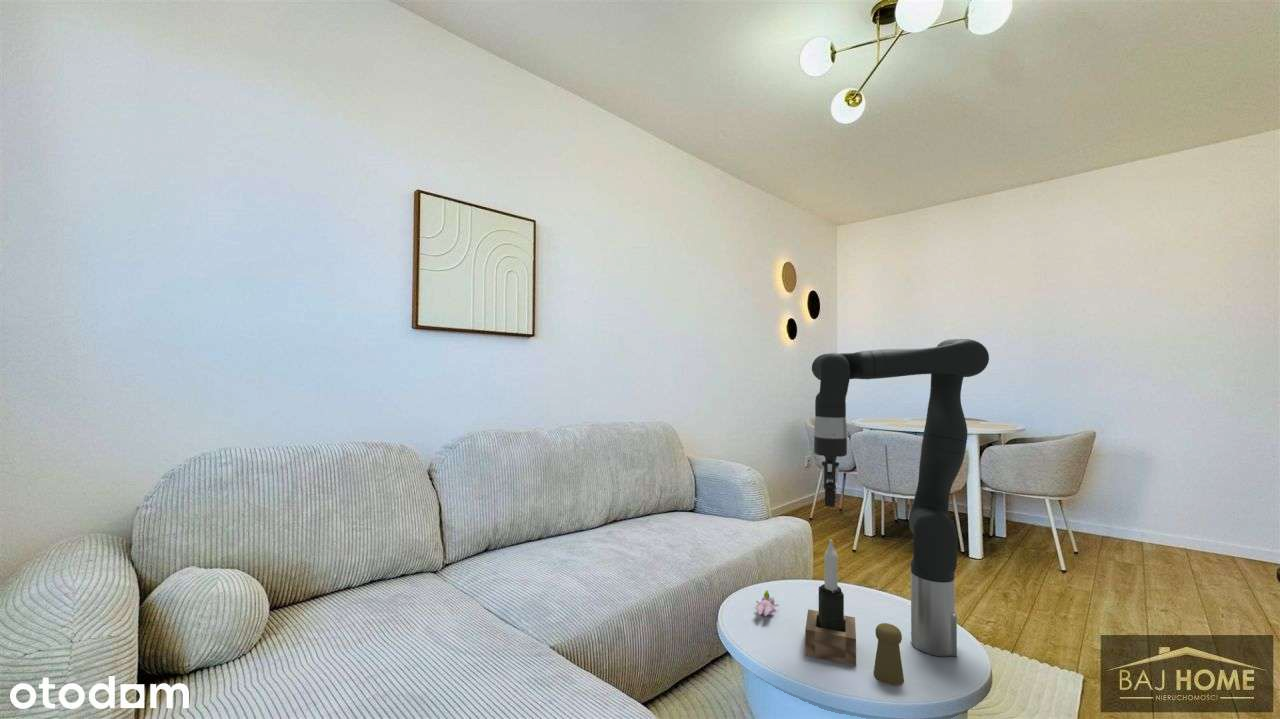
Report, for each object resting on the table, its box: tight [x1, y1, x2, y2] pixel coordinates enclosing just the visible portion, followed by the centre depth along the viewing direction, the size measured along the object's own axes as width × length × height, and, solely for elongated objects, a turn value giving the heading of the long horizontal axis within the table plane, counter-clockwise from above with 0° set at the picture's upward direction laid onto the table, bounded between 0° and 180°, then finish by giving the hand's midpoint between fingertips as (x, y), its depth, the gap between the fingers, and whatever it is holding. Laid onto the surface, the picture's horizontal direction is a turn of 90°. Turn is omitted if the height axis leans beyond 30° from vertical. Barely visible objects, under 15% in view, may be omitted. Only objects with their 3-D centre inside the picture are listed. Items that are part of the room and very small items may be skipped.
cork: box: [873, 622, 905, 687], centre depth 111 cm, size 6×6×11 cm
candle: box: [818, 539, 845, 632], centre depth 123 cm, size 5×5×25 cm
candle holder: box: [804, 609, 857, 667], centre depth 123 cm, size 11×11×6 cm
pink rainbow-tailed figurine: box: [755, 590, 780, 617], centre depth 141 cm, size 6×6×15 cm
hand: (830, 502), depth 124 cm, fingers open, 8 cm apart
